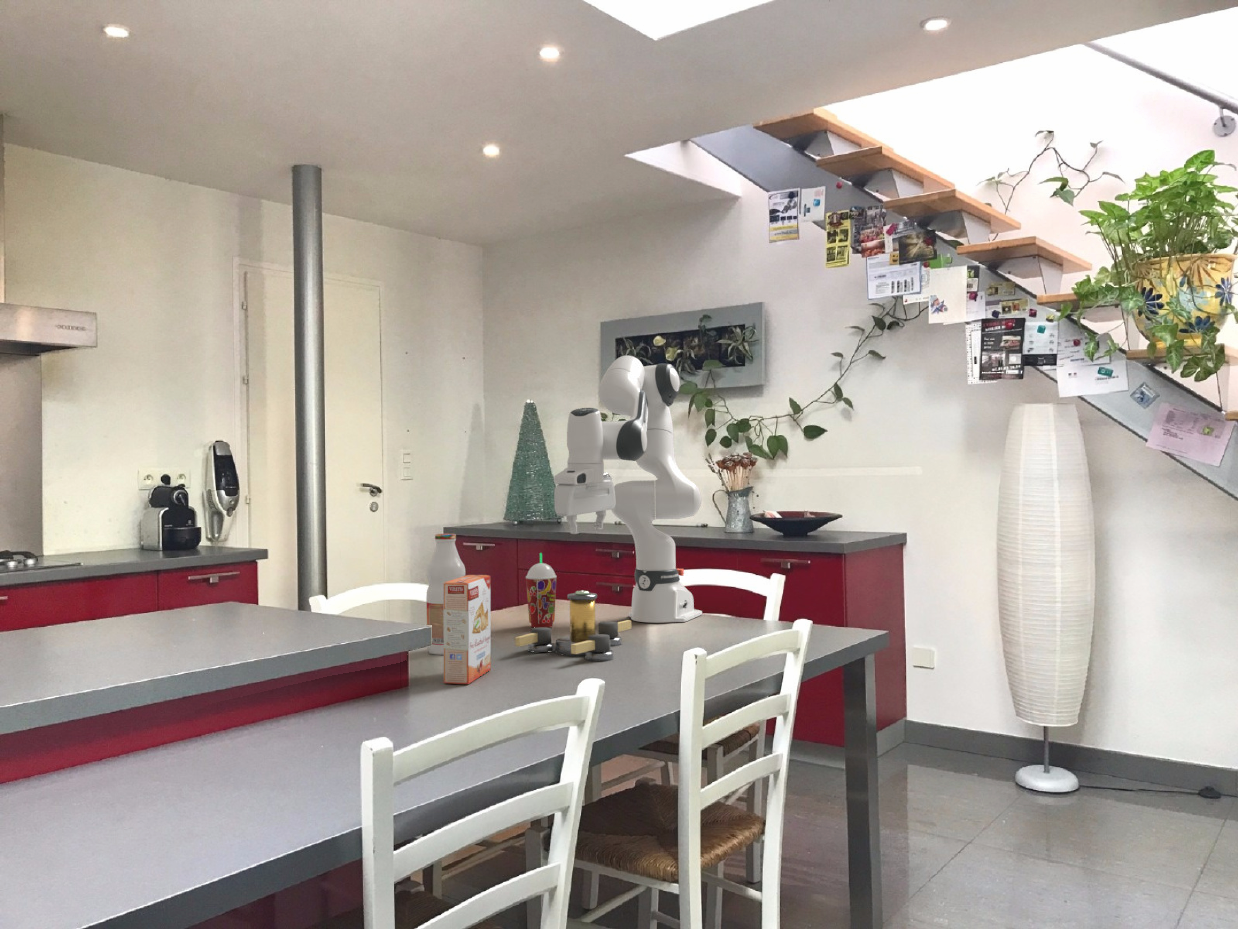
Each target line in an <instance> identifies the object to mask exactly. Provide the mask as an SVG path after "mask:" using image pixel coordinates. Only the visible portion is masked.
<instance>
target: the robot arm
mask: <svg viewBox="0 0 1238 929" xmlns="http://www.w3.org/2000/svg"><path fill="white" fill-rule="evenodd" d="M680 381H681V380H680V376H679V373H678V371H677V369H676V367H675V366H674V365H672V364H670V363H663V362H662V363H658V364H654V365H653V364H652V365H646V366H644V365H643V364H642V362H641V361H640V360H639V359H638V358H637V357H635V356H633V355H622V356H620V357H618V358H616V359H615V360H614V361H613V362H612V363H611V364H610V365H609V367H608V368H607V369H606V371H605V373H604V375H603V376H602V378H601V380H600V383H599V385H598V398H599V400H600V403H601V404H602V406H603V408H605V409H606V410H607V411H608V412H610V413H613V414H616V415H620V416H621V415H622V416H627V417H630V418H629V419H627V420H611V421H610V420H609V421H608V420H605V421H603V420H602V416H601V411H600V410H599V409H598V408H594V407H581V408H575V409H573V410H571V411H570V412H569V413H568V419H567V428H566V430H567V431H566V447H567V450H568V458H567V464H566V465H567V467H565V468H564V469H563V470H561V471H559V472H558V473H557V474H555V475H554V477H553V482H554V484H555V485H556V486H555V488H554V493H553V494H554V495H553V496H554V497H553V499H554V512H555V513H556V515H557V516H558V517H566V522H567V524H568V526H569V533H570V534H571V535H577V534H580V529H581V528H580V525H578V523H577V521H576V520H578V516H579V515H585V514H592V513H595V515H596V519H595V521H593V529H594V530H598V531H599V530H603V529H604V521H605V518H606V516H607V511H609V510H610V511H611V512H612V513H613V514H614V516H615V517H616V518H618V519H619V520H620V521H621V522H623V523H624V524H625V526H626V527H627V528H628V530H629V532H630V533H631V535H632V538H633V539H632V540H633V542H634V548H635V559H636V560H635V562H636V563H635V564H636V566H635V569H634V581H635V586H633V589H632V597H631V611H630V612H628V617H629V618H630V619H631V621H634V622H641V623H653V624H654V623H655V624H656V623H658V624H659V623H685V622H687V621H690V620H693V619H694V618H696V617H697V618H698V617H699V616H702V615H703V610H699V609H696V608H695V607H694V605H695V604H694V602H695V601H694V595H693V594H692V592H691V591H690V590H688V589H687V588H686V586H684V585H683V584H682V583H681V582H680V576H682V577H683V576H684V574H685V570H684V568H677V566H676V565H677V564H676V563H677V562H676V561H677V559H676V555H677V554H676V543H675V540H674V538H672V537H671V535H669V534H667V533H665V532H663V531H661V530H659V529H657V528H656V527H655V526H654V524H653V521H655V520H681V519H686V518H690V517H695V515H696V514H698V512H699V510H700V508H701V504H702V495H701V491H700V488H699V487H698V486H697V485H696V484H695V483H694V482H693V481H691V480H690V479H689V478H687V476H685V475H684V474H683V472H682V471H681V470H680V468H679V466H678V464H677V461H676V455H675V443H674V441H675V440H674V424H673V419H672V413H671V410H670V407H671V406H672V405H673V403H674V401H675V399H677V396H678V394H679V393H680V388H681V382H680ZM604 460H605V461H606V460H609V461H610V460H615V461H616V460H619V461H620V460H621V461H630V462H636V464H637V465H638V466H639V468H641V470H643V471H645V472H648V473H650V474H652V475H653V476H654V477H656V479H655V480H653V479H652V480H628V481H623V482H619V483H616V484H614V483H613V478H612V476H611V474H609V472H605V469H604V465H605V464H604Z"/></svg>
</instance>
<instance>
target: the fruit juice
mask: <svg viewBox="0 0 1238 929" xmlns="http://www.w3.org/2000/svg"><path fill="white" fill-rule="evenodd" d="M434 539H435V540H434V541H435V543H436V545H435V548H434V552H433V555H432V558H431V560H430V562H429V563H428V565H427V568H426V577H427V580H428V587H427V589H426V596H425V598H426V600H425V601H426V626H427V625H432V645H431V646H430V647H426V648H427V649H426V650H427V652H428V653H429V654H431V655H438V656H439V655H441V656H444V624H443V583H444V582H447V581H450V580H453V579H457V578H460V577H463V576H466V567H465V564H464V562H463V561H462V559H461V558H460V555H459V551H458V549H457V546H456V540H457V534H456V533H435V535H434Z"/></svg>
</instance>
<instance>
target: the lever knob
mask: <svg viewBox="0 0 1238 929" xmlns="http://www.w3.org/2000/svg"><path fill="white" fill-rule="evenodd" d="M597 625H598V627H597V628H598V633H597V634H606V635H609V636H610V638H614V637H618V636H619V633H620V632H623V631H627V630H631V629H632V620H629V619H626V620H622V621H618V622H617V621H611V620H610V621H609V620H607V621H600V622H598V623H597Z"/></svg>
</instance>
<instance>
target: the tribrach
mask: <svg viewBox="0 0 1238 929" xmlns="http://www.w3.org/2000/svg"><path fill="white" fill-rule="evenodd" d="M567 599H568V600H569V634H570V635H567V636H563V637H559V638H557V639H555V642H552V641H551V643H549V644H532V643H531V644H527V651H528V650H529V651H534V652H548V651H556V652H557V653H556V652H555V653H556V654H558V655H561V654H563V655H562V656H566V655H567V656H568V657H584V658H585V660H586V661H590V662H607V661H612V660H613V659H614V651H613V650H611V647H615V646H620V645H622V636H620V635H618V637H614V638H610V650H609V651H607V652H591V651H587V652H583V653H579V654H571V644H575V643H579V642H584V641H588V640H589V635H594V634H597V632H596V599H598V594H597V593H594V592H590V591H589V590H576V591H575V592H573V593H572V592H571V593H568V594H567ZM548 653H549V652H548Z"/></svg>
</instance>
